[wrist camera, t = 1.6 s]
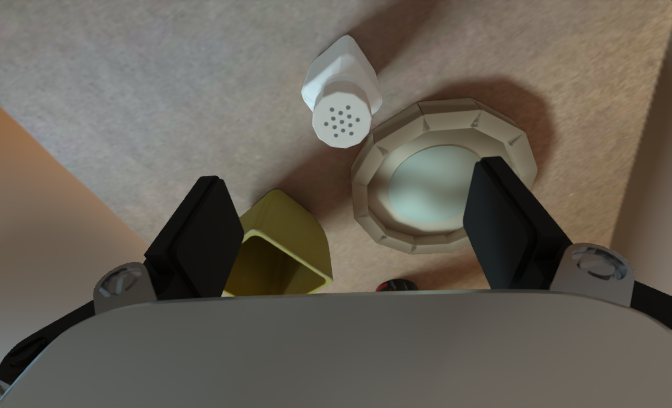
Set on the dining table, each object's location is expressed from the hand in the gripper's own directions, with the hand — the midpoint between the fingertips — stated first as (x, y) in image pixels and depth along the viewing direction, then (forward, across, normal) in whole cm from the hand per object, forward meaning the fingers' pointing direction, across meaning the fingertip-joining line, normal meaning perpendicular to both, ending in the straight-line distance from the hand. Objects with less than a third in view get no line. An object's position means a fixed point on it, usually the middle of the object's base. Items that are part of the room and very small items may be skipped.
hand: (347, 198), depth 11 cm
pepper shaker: (+16, 0, -1) cm, 16 cm away
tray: (+16, -8, +10) cm, 20 cm away
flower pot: (+16, +8, +13) cm, 22 cm away
